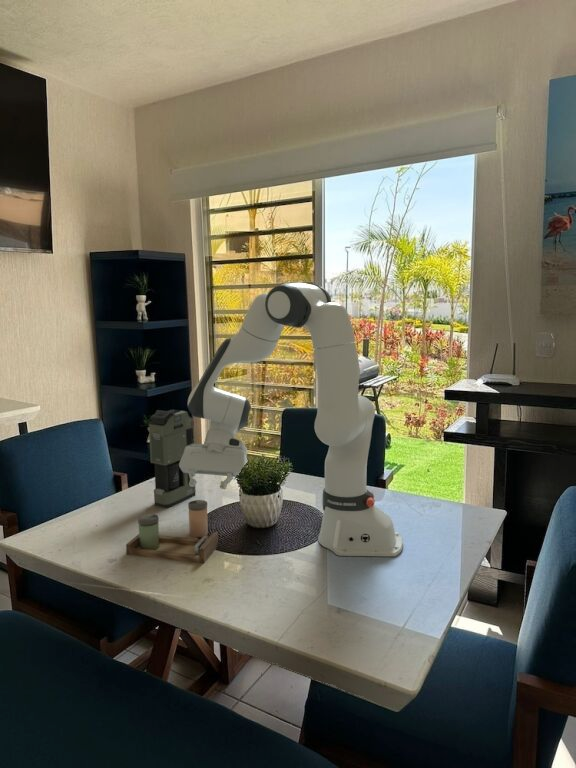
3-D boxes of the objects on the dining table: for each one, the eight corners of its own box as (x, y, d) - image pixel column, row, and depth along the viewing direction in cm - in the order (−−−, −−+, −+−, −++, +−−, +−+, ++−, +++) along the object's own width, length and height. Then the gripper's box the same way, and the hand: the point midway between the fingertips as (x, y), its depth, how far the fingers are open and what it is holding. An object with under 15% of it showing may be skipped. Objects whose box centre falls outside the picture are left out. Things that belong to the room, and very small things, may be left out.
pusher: (211, 547, 142) (210, 536, 141) (201, 558, 136) (201, 546, 135) (204, 546, 142) (204, 535, 142) (194, 558, 136) (194, 546, 136)
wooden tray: (218, 546, 143) (218, 532, 143) (204, 564, 134) (203, 549, 133) (145, 538, 148) (144, 525, 147) (126, 555, 138) (125, 540, 138)
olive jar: (163, 544, 144) (162, 515, 143) (154, 552, 139) (152, 523, 138) (145, 542, 145) (144, 513, 144) (135, 550, 140) (134, 521, 139)
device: (167, 509, 169) (164, 414, 165) (149, 504, 173) (145, 412, 168) (196, 495, 181) (194, 407, 177) (179, 491, 185) (176, 404, 180)
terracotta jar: (210, 531, 153) (210, 500, 152) (203, 539, 148) (203, 507, 146) (193, 529, 154) (192, 499, 153) (186, 537, 149) (185, 506, 148)
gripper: (183, 438, 164) (170, 479, 156) (248, 442, 160) (238, 484, 152) (189, 448, 169) (177, 489, 161) (252, 452, 165) (243, 494, 157)
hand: (207, 487), depth 156 cm, fingers open, 8 cm apart
